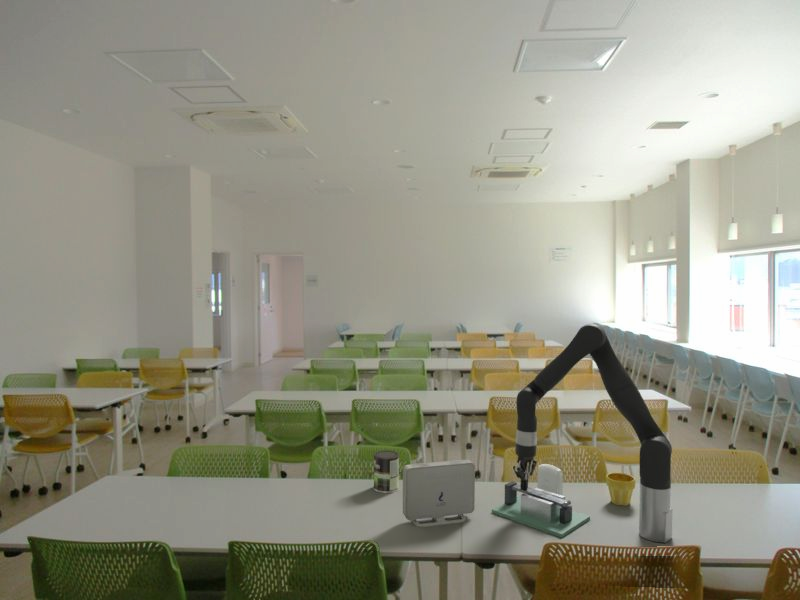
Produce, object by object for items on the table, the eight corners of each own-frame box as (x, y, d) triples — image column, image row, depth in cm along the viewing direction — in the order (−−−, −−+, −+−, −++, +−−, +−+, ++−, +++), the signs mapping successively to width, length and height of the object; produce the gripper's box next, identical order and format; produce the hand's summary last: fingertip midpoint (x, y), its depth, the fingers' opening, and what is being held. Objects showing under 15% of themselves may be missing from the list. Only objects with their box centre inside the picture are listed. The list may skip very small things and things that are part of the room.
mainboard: (589, 519, 198) (590, 516, 197) (561, 537, 183) (561, 534, 183) (521, 497, 217) (521, 494, 217) (491, 512, 203) (491, 509, 203)
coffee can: (377, 494, 220) (377, 459, 219) (370, 485, 230) (370, 451, 229) (402, 491, 223) (402, 456, 222) (394, 482, 233) (394, 449, 232)
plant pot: (607, 506, 209) (607, 480, 209) (604, 495, 219) (604, 471, 219) (637, 509, 207) (637, 483, 207) (632, 498, 217) (632, 473, 217)
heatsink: (575, 517, 196) (575, 497, 196) (561, 526, 189) (561, 505, 189) (515, 498, 213) (515, 479, 213) (500, 505, 206) (500, 486, 206)
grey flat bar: (570, 505, 194) (571, 501, 194) (564, 508, 191) (564, 504, 191) (518, 486, 209) (518, 483, 209) (512, 489, 206) (512, 486, 206)
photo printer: (535, 493, 221) (535, 463, 221) (542, 491, 224) (542, 460, 224) (557, 501, 213) (558, 469, 213) (564, 499, 216) (564, 467, 216)
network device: (407, 528, 190) (407, 470, 189) (400, 518, 198) (400, 462, 197) (476, 520, 196) (477, 464, 196) (467, 510, 205) (467, 456, 204)
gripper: (525, 448, 196) (523, 496, 197) (544, 440, 206) (542, 486, 207) (507, 443, 202) (505, 490, 203) (527, 436, 211) (525, 481, 212)
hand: (524, 488), depth 205 cm, fingers closed
